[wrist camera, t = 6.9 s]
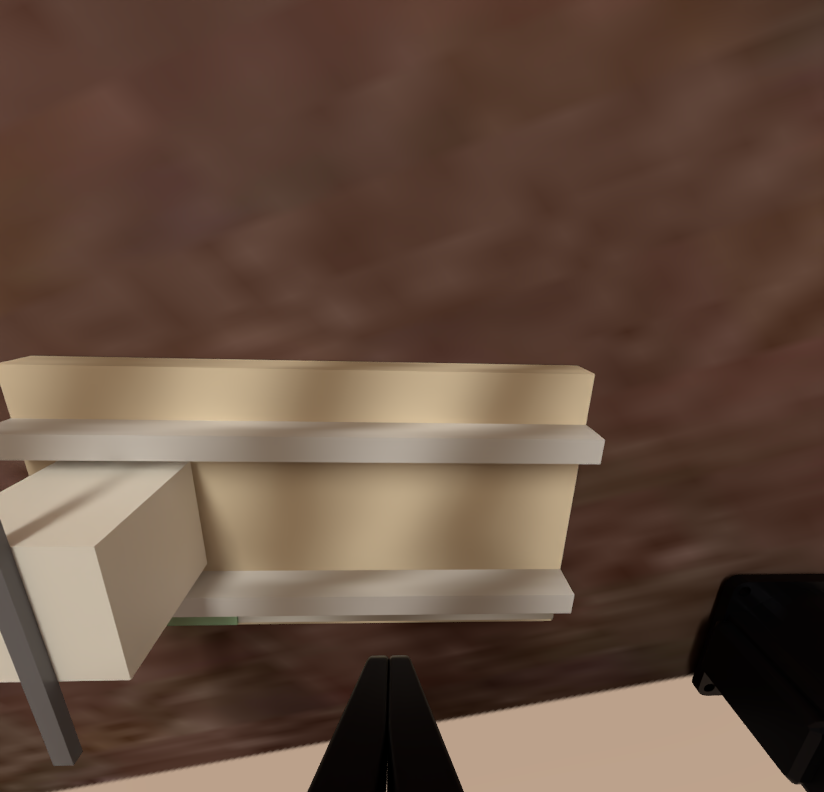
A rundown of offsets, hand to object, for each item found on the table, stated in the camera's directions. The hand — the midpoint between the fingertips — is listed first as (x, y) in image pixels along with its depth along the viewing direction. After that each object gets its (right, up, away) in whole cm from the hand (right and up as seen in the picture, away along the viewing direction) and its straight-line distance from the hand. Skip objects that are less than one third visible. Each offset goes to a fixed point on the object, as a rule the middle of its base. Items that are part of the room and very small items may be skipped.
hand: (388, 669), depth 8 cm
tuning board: (-3, +2, +6) cm, 7 cm away
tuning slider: (-9, +2, +5) cm, 10 cm away
